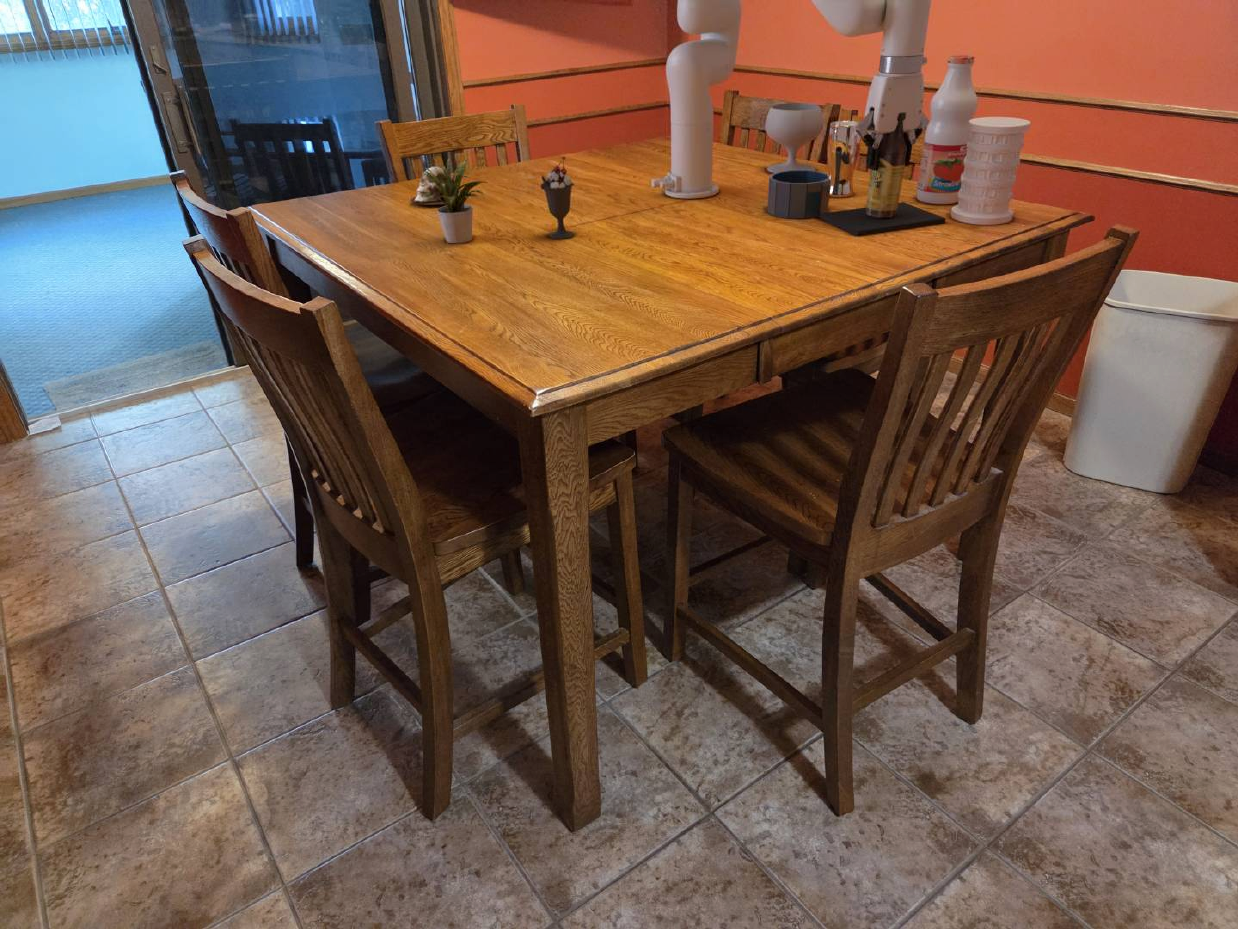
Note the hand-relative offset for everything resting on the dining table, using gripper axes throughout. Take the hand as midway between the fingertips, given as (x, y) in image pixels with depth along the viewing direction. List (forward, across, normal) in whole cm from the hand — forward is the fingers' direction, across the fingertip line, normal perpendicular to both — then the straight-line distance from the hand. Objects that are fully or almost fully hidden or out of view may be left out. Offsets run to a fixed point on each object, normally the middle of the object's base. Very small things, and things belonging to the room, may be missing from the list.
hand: (887, 166), depth 159 cm
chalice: (+11, -6, -48) cm, 50 cm away
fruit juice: (+11, -20, -8) cm, 24 cm away
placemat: (+11, 0, 0) cm, 11 cm away
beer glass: (+11, -4, -22) cm, 25 cm away
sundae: (+11, +62, -19) cm, 66 cm away
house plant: (+11, +83, -25) cm, 87 cm away
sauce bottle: (+10, 0, 0) cm, 10 cm away
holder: (+11, +11, -14) cm, 21 cm away
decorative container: (+11, -19, +7) cm, 23 cm away
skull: (+11, +82, -60) cm, 102 cm away
